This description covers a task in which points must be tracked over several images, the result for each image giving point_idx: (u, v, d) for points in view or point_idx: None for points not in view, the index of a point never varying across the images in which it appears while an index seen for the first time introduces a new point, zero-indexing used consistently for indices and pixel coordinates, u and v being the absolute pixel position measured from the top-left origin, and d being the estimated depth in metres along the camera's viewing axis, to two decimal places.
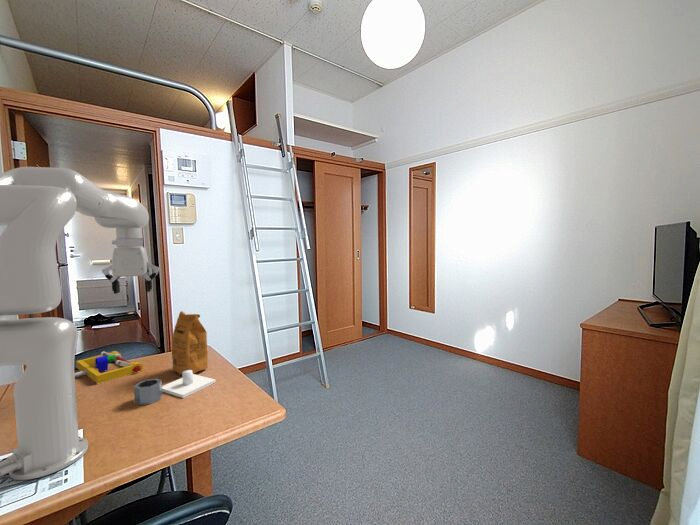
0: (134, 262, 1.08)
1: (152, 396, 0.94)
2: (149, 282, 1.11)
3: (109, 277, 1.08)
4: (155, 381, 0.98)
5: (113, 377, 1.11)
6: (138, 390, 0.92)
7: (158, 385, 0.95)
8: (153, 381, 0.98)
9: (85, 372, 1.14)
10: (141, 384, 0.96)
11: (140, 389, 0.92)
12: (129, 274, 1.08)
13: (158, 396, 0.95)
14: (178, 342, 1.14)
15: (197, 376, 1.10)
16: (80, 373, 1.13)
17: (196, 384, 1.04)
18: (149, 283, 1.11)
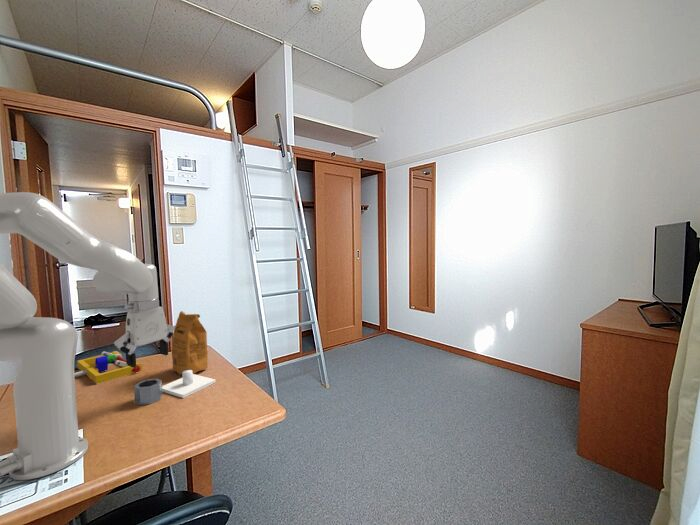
0: (158, 325, 0.96)
1: (152, 396, 0.94)
2: None
3: (126, 349, 0.89)
4: (155, 381, 0.98)
5: (112, 377, 1.11)
6: (138, 390, 0.92)
7: (158, 385, 0.95)
8: (153, 381, 0.98)
9: (85, 372, 1.14)
10: (141, 384, 0.96)
11: (140, 389, 0.92)
12: (153, 340, 0.94)
13: (158, 396, 0.95)
14: (178, 342, 1.14)
15: (197, 376, 1.10)
16: (80, 373, 1.13)
17: (196, 384, 1.04)
18: None
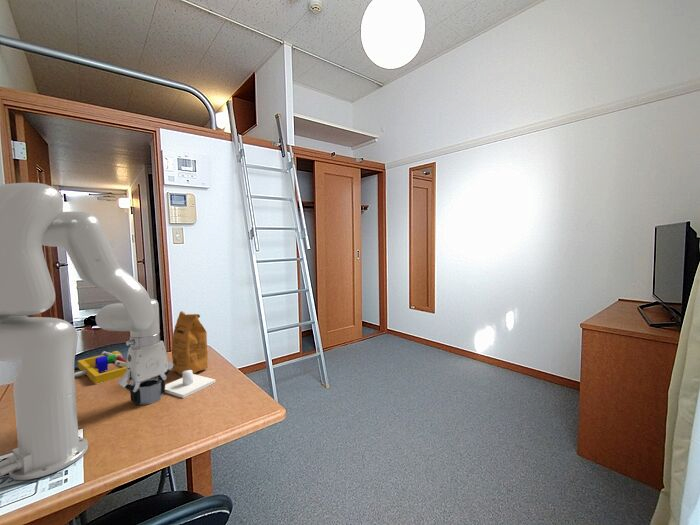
0: (158, 360, 0.96)
1: (152, 396, 0.94)
2: (163, 381, 0.99)
3: (131, 387, 0.91)
4: (155, 381, 0.98)
5: (112, 378, 1.11)
6: None
7: (158, 385, 0.95)
8: (153, 381, 0.98)
9: (85, 372, 1.14)
10: (141, 384, 0.96)
11: (140, 389, 0.92)
12: (154, 375, 0.94)
13: (158, 396, 0.95)
14: (178, 342, 1.14)
15: (197, 376, 1.10)
16: (80, 373, 1.13)
17: (196, 384, 1.04)
18: (163, 382, 0.99)
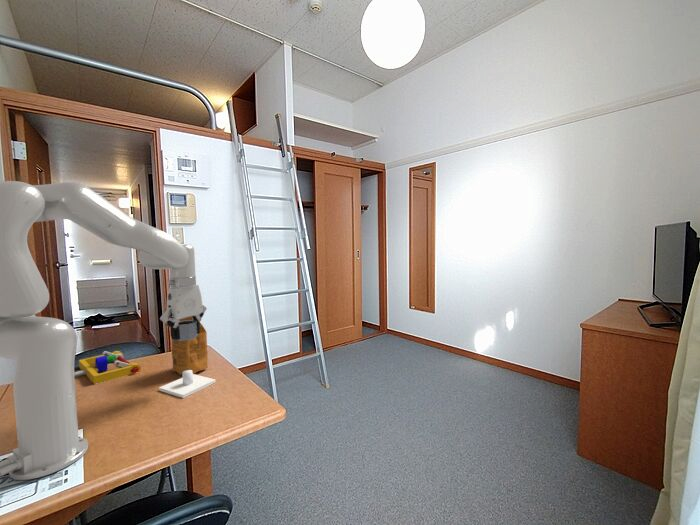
0: (195, 301, 1.03)
1: (190, 333, 1.01)
2: None
3: (171, 323, 0.98)
4: (191, 322, 1.06)
5: (110, 378, 1.10)
6: (177, 326, 1.00)
7: (195, 324, 1.03)
8: (189, 322, 1.06)
9: (85, 372, 1.14)
10: (178, 324, 1.04)
11: (179, 326, 1.00)
12: (191, 314, 1.02)
13: (195, 334, 1.03)
14: (178, 342, 1.14)
15: (197, 376, 1.10)
16: (80, 373, 1.13)
17: (196, 384, 1.04)
18: None
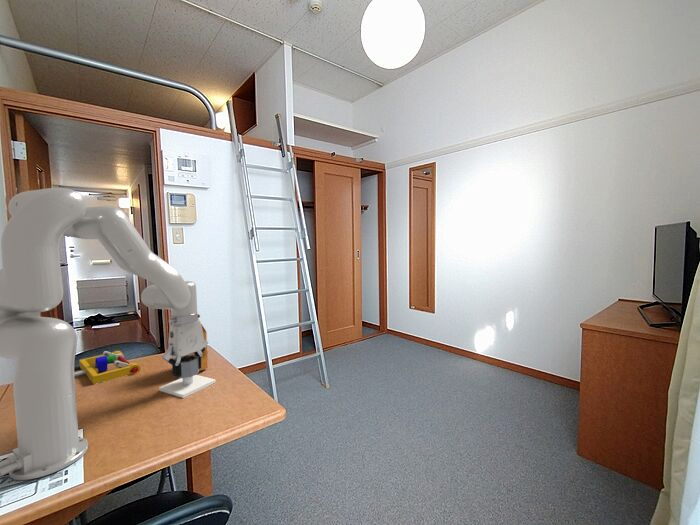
0: (196, 337, 1.04)
1: (191, 370, 1.02)
2: None
3: (173, 361, 0.99)
4: (192, 357, 1.06)
5: (110, 378, 1.10)
6: (179, 364, 1.01)
7: (196, 360, 1.04)
8: (191, 357, 1.07)
9: (85, 372, 1.14)
10: None
11: (181, 363, 1.01)
12: (193, 351, 1.03)
13: (196, 370, 1.04)
14: None
15: (197, 376, 1.10)
16: (80, 373, 1.13)
17: (196, 384, 1.04)
18: None
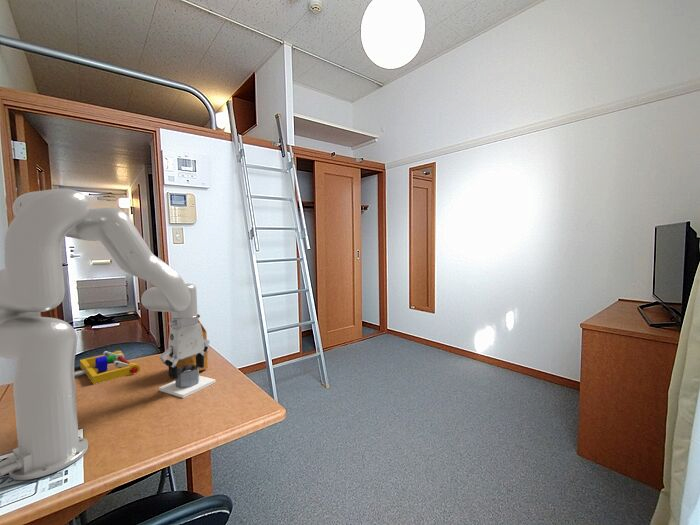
0: (196, 340, 1.04)
1: (191, 380, 1.02)
2: None
3: (169, 362, 0.98)
4: (193, 367, 1.06)
5: (109, 378, 1.10)
6: (179, 374, 1.01)
7: (196, 370, 1.04)
8: (191, 367, 1.07)
9: (85, 372, 1.14)
10: (180, 369, 1.05)
11: (181, 373, 1.01)
12: (192, 353, 1.03)
13: (196, 380, 1.04)
14: None
15: None
16: (79, 373, 1.13)
17: (196, 384, 1.04)
18: None
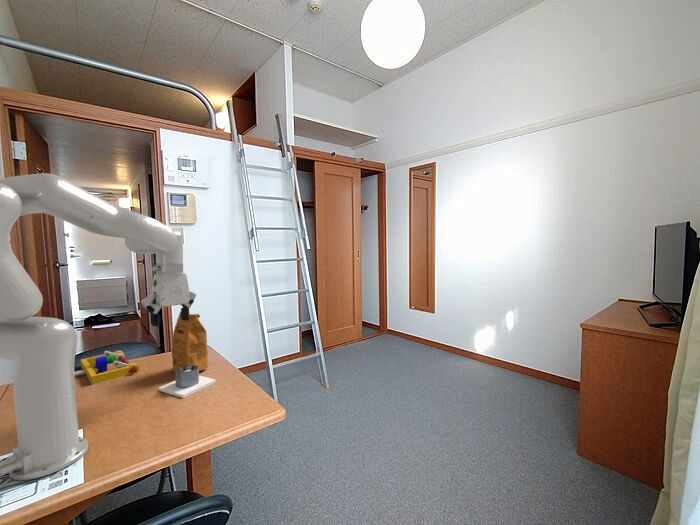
0: (181, 289, 1.01)
1: (191, 380, 1.02)
2: None
3: (151, 308, 0.94)
4: (193, 367, 1.06)
5: (108, 378, 1.10)
6: (179, 374, 1.01)
7: (196, 370, 1.04)
8: (191, 367, 1.07)
9: (84, 372, 1.14)
10: (180, 369, 1.05)
11: (181, 373, 1.01)
12: (176, 303, 0.99)
13: (196, 380, 1.04)
14: (178, 342, 1.14)
15: None
16: (79, 372, 1.13)
17: (196, 384, 1.04)
18: None
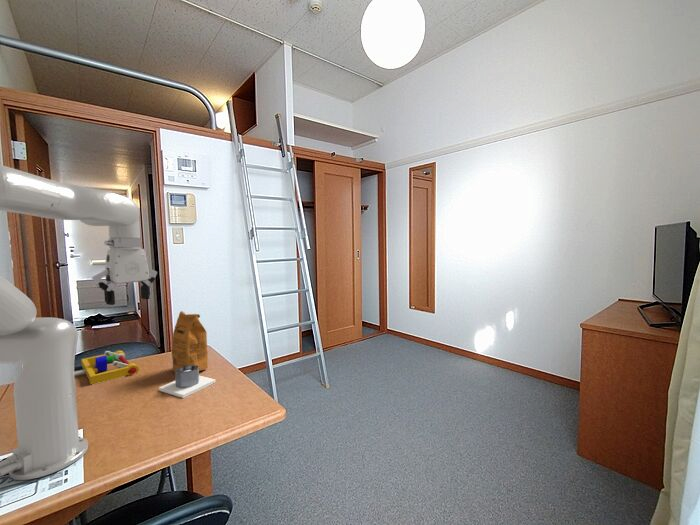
0: (139, 265, 0.94)
1: (191, 380, 1.02)
2: None
3: (104, 285, 0.88)
4: (193, 367, 1.06)
5: (107, 378, 1.10)
6: (179, 374, 1.01)
7: (196, 370, 1.04)
8: (191, 367, 1.07)
9: (84, 371, 1.14)
10: (180, 369, 1.05)
11: (181, 373, 1.01)
12: (133, 280, 0.93)
13: (196, 380, 1.04)
14: (178, 342, 1.14)
15: None
16: (79, 372, 1.13)
17: (196, 384, 1.04)
18: None
